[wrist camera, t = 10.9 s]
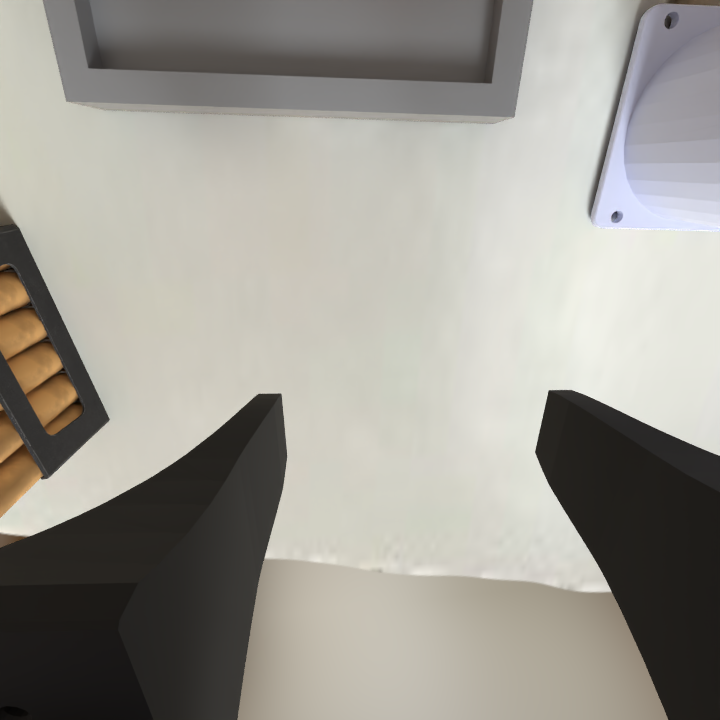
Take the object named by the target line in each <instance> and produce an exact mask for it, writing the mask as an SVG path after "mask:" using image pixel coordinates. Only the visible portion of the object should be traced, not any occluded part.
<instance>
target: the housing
mask: <svg viewBox="0 0 720 720" xmlns="http://www.w3.org/2000/svg"><path fill="white" fill-rule="evenodd" d="M43 3H44V8H45V12H46V16H47V20H48V25H49V29H50V33H51V37H52V42H53V46H54V50H55V55H56V59H57V63H58V67H59V72H60V76H61V80H62V85H63V89H64V93H65V97H66V102H71V103H75V104H80V105H84V106H89V107H93V108H97V109H102V110H114V111H143V112H172V113H201V114H229V115H258V116H287V117H316V118H345V119H373V120H402V121H431V122H460V123H489V124H493V123H497V122H500V121H504V120H507V119H510V118H514V116H515V110H516V104H517V98H518V91H519V85H520V79H521V73H522V67H523V61H524V54H525V48H526V42H527V36H528V30H529V23H530V17H531V11H532V5H533V0H43Z"/></svg>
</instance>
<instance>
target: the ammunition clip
mask: <svg viewBox="0 0 720 720" xmlns="http://www.w3.org/2000/svg"><path fill="white" fill-rule="evenodd" d="M109 420H110V419H109V417H108V415H107V413H106V411H105V408H104V406H103V404H102V402H101V400H100V398H99V396H98V394H97V392H96V389H95V387H94V385H93V383H92V381H91V379H90V377H89V375H88V373H87V370H86V368H85V366H84V364H83V362H82V360H81V358H80V356H79V354H78V351H77V349H76V347H75V345H74V343H73V341H72V339H71V337H70V335H69V333H68V330H67V328H66V326H65V324H64V322H63V320H62V318H61V316H60V314H59V311H58V309H57V307H56V305H55V303H54V301H53V299H52V297H51V295H50V292H49V290H48V288H47V286H46V284H45V282H44V280H43V278H42V276H41V273H40V271H39V269H38V267H37V265H36V263H35V261H34V259H33V257H32V254H31V252H30V250H29V248H28V246H27V244H26V242H25V240H24V238H23V235H22V233H21V231H20V229H19V228H18V227H16V226H15V225H7V226H0V518H1V517H2V516H3V515H4V514H5V513H6V512H7V511H8V510H9V509H10V508H11V507H12V506H13V505H14V504H15V503H16V502H17V501H18V500H19V499H20V498H21V497H22V496H23V495H24V494H25V493H26V492H27V491H28V490H29V489H30V488H31V487H32V486H33V485H34V484H35V483H36V482H37V481H38V480H39V479H40V478H41V479H47V478H49V477H50V476H51V475H52V474H53V473H54V472H55V471H57V470H58V469H59V468H60V467H61V466H62V465H63V464H64V463H65V462H66V461H67V460H68V459H69V458H70V457H71V456H72V455H73V454H74V453H75V452H76V451H77V450H79V449H80V448H81V447H82V446H83V445H84V444H85V443H86V442H87V441H88V440H89V439H90V438H91V437H92V436H93V435H94V434H95V433H97V432H98V431H99V430H100V429H101V428H102V427H103V426H104V425H105V424H106V423H107V422H108V421H109Z"/></svg>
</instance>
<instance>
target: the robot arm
mask: <svg viewBox="0 0 720 720" xmlns="http://www.w3.org/2000/svg"><path fill="white" fill-rule="evenodd" d="M667 15H668V16H670V17H671V26H670V28H669V29H667V28H666V27H665V25H664V23H665V18H666V16H667ZM615 211H617V213H618V216H617V218H616V220H614V221H613V222H612V221H611V216H612V214H613V213H614V212H615ZM591 222H592V224H593V225H594V226H596V227H600V228H617V229H653V230H690V231H720V6H710V5H687V4H664V3H662V4H657V5H655V6H653V7H651V8H650V9H648V10H647V11H646V12H645V13H644V14H643V16H642V18H641V20H640V23H639V27H638V31H637V35H636V39H635V43H634V47H633V51H632V55H631V59H630V63H629V67H628V71H627V74H626V78H625V82H624V86H623V90H622V94H621V98H620V102H619V106H618V110H617V114H616V118H615V122H614V126H613V130H612V134H611V138H610V142H609V146H608V150H607V154H606V158H605V162H604V166H603V170H602V174H601V177H600V181H599V185H598V189H597V193H596V197H595V201H594V205H593V209H592V213H591ZM535 453H536V455H537V458H538V460H539V463H540V465H541V468H542V470H543V472H544V475H545V477H546V479H547V481H548V483H549V485H550V487H551V489H552V490H553V492H554V494H555V495H556V497H557V499H558V500H559V502H560V504H561V505H562V507H563V509H564V510H565V512H566V514H567V515H568V517H569V518H570V520H571V522H572V523H573V525H574V526H575V528H576V530H577V531H578V533H579V535H580V536H581V538H582V539H583V541H584V543H585V544H586V546H587V547H588V549H589V551H590V552H591V554H592V556H593V557H594V559H595V561H596V562H597V564H598V566H599V568H600V569H601V571H602V573H603V575H604V577H605V579H606V581H607V583H608V585H609V587H610V589H611V591H612V593H613V595H614V597H615V599H616V601H617V603H618V605H619V607H620V609H621V611H622V613H623V615H624V617H625V620H626V622H627V624H628V626H629V629H630V631H631V633H632V635H633V638H634V640H635V642H636V644H637V646H638V649H639V651H640V653H641V655H642V657H643V660H644V662H645V664H646V667H647V669H648V672H649V674H650V676H651V679H652V681H653V684H654V686H655V688H656V691H657V693H658V696H659V698H660V700H661V703H662V705H663V707H664V710H665V712H666V715H667V717H668V720H720V456H718V455H716V454H713V453H711V452H708V451H706V450H703V449H701V448H698V447H696V446H694V445H692V444H689V443H687V442H685V441H682V440H680V439H678V438H675V437H673V436H671V435H669V434H666V433H664V432H662V431H660V430H658V429H656V428H653V427H651V426H649V425H647V424H645V423H643V422H641V421H639V420H637V419H635V418H632V417H630V416H628V415H626V414H624V413H622V412H620V411H618V410H616V409H614V408H612V407H610V406H608V405H606V404H603V403H601V402H599V401H597V400H595V399H593V398H590V397H588V396H586V395H583V394H581V393H578V392H575V391H572V390H549V392H548V396H547V401H546V405H545V410H544V414H543V419H542V423H541V428H540V433H539V437H538V442H537V446H536V451H535ZM286 461H287V449H286V438H285V427H284V416H283V406H282V395H281V394H258V395H257V396H255V397H254V398H253V399H252V400H251V401H250V402H249V403H247V404H246V405H245V406H244V407H243V408H242V409H241V410H240V411H239V412H238V413H236V414H235V415H234V416H233V417H232V418H231V419H230V420H228V421H227V422H226V423H225V424H224V425H223V426H222V427H220V428H219V429H218V430H217V431H216V432H214V433H213V434H212V435H211V436H209V437H208V438H207V439H205V440H204V441H203V442H202V443H200V444H199V445H198V446H196V447H195V448H194V449H193V450H191V451H190V452H189V453H187V454H186V455H185V456H183V457H182V458H180V459H179V460H177V461H176V462H174V463H173V464H172V465H170V466H168V467H167V468H165V469H164V470H162V471H161V472H159V473H157V474H156V475H154V476H153V477H151V478H149V479H148V480H146V481H144V482H142V483H141V484H139V485H137V486H135V487H133V488H131V489H130V490H128V491H126V492H124V493H122V494H120V495H119V496H117V497H115V498H113V499H111V500H109V501H108V502H106V503H104V504H102V505H100V506H98V507H95V508H93V509H91V510H89V511H87V512H85V513H83V514H81V515H79V516H77V517H74V518H72V519H70V520H67V521H65V522H63V523H61V524H58V525H56V526H54V527H52V528H49V529H47V530H45V531H42V532H40V533H37V534H35V535H32V536H30V537H27V538H25V539H22V540H20V541H17V542H14V543H11V544H9V545H6V546H4V547H1V548H0V720H237V718H238V710H239V703H240V696H241V689H242V682H243V675H244V667H245V662H246V655H247V648H248V642H249V636H250V629H251V623H252V617H253V611H254V605H255V599H256V593H257V587H258V582H259V577H260V573H261V569H262V564H263V561H264V557H265V553H266V550H267V546H268V542H269V539H270V535H271V531H272V528H273V524H274V520H275V516H276V513H277V509H278V505H279V501H280V498H281V494H282V490H283V484H284V477H285V469H286Z"/></svg>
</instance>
